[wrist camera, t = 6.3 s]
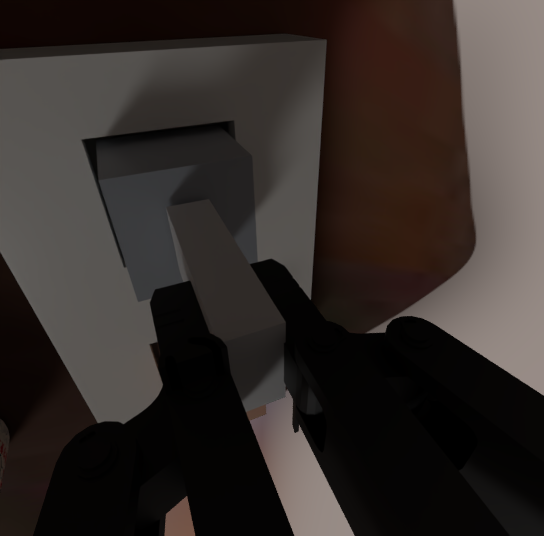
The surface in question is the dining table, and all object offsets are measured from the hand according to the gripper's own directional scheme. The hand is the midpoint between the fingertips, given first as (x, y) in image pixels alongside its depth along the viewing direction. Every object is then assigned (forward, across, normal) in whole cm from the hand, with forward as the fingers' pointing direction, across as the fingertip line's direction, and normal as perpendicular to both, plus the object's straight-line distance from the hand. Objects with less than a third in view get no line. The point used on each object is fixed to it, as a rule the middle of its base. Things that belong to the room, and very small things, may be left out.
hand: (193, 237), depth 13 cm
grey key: (+5, 0, 0) cm, 5 cm away
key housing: (+7, 0, -6) cm, 9 cm away
